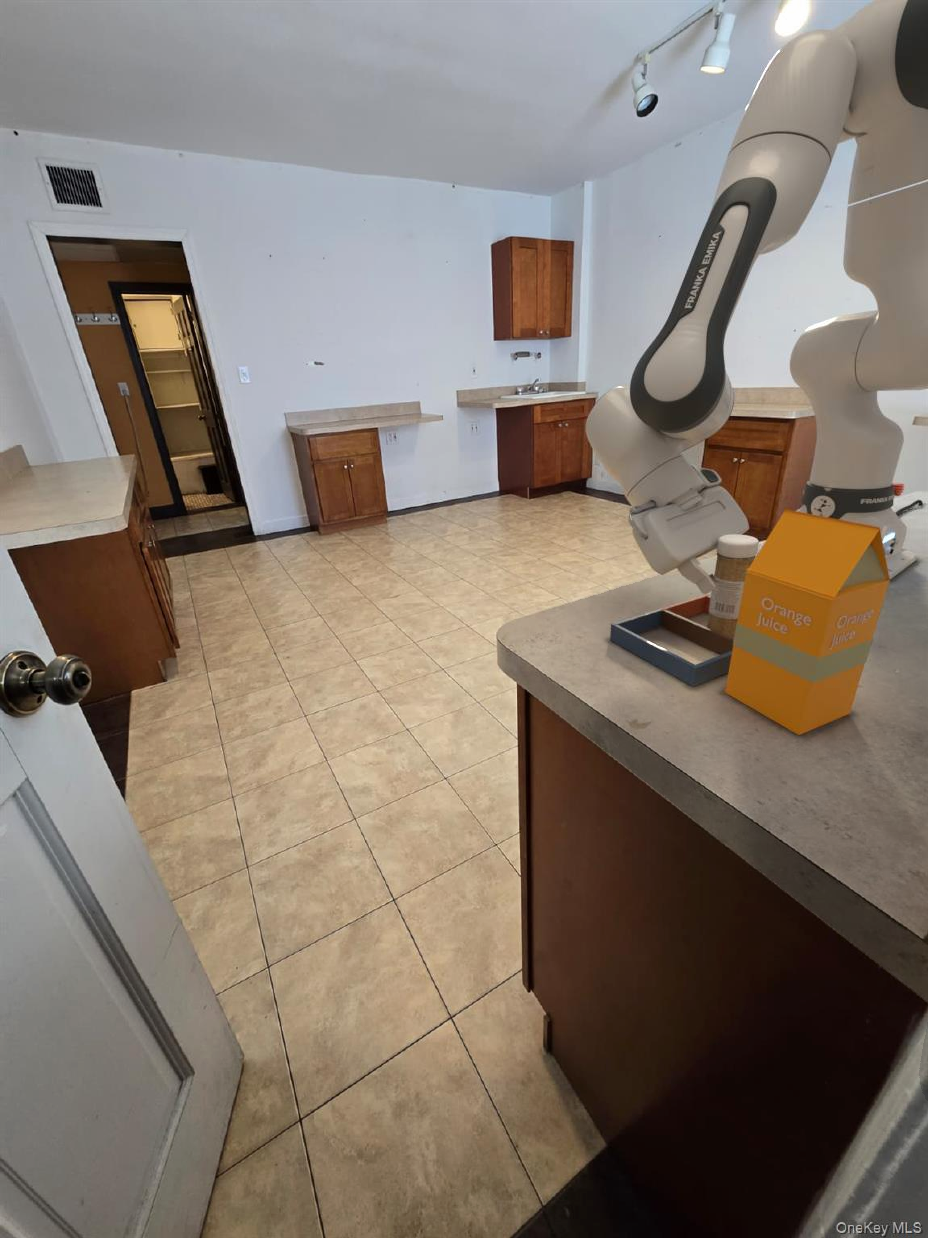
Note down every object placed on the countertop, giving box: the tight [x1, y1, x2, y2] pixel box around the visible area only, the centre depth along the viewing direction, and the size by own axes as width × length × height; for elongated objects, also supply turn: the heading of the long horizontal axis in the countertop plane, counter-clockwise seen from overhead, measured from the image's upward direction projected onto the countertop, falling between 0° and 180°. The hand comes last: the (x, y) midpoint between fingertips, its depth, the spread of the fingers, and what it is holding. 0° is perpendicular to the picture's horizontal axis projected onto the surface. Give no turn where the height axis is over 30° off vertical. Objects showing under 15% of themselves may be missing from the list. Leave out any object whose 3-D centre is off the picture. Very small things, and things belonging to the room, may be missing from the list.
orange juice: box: [724, 508, 891, 736], centre depth 50 cm, size 8×9×20 cm
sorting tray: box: [609, 594, 734, 688], centre depth 67 cm, size 18×14×2 cm
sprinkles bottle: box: [706, 534, 760, 639], centre depth 67 cm, size 5×5×13 cm
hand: (730, 580), depth 66 cm, fingers open, 8 cm apart
